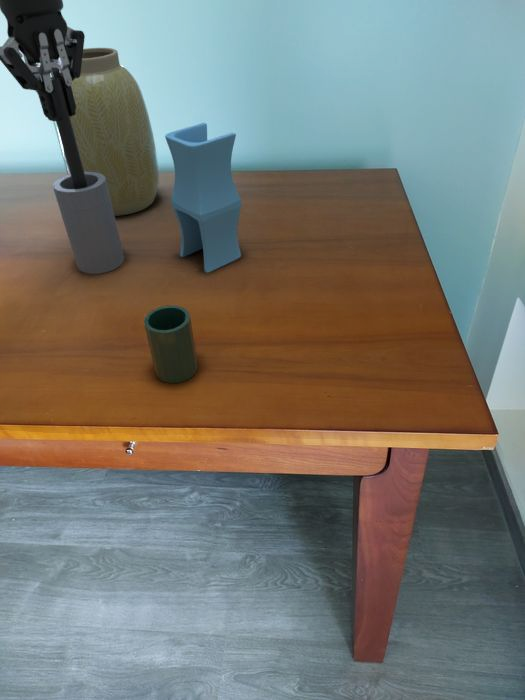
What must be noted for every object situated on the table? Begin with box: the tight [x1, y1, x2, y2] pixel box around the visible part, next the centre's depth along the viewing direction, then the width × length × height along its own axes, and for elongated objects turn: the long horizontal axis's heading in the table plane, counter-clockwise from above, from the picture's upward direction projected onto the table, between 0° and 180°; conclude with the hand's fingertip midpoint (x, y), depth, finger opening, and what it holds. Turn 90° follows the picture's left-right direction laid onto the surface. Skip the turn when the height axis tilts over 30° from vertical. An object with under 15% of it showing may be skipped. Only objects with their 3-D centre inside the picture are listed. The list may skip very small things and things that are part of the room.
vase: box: [56, 47, 161, 217], centre depth 99 cm, size 17×17×27 cm
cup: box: [52, 172, 125, 275], centre depth 85 cm, size 8×8×14 cm
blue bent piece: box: [164, 122, 242, 274], centre depth 83 cm, size 8×8×20 cm
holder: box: [143, 304, 199, 384], centre depth 65 cm, size 5×5×8 cm
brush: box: [51, 76, 88, 189], centre depth 78 cm, size 3×3×22 cm
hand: (61, 117), depth 74 cm, fingers closed on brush, 2 cm apart
